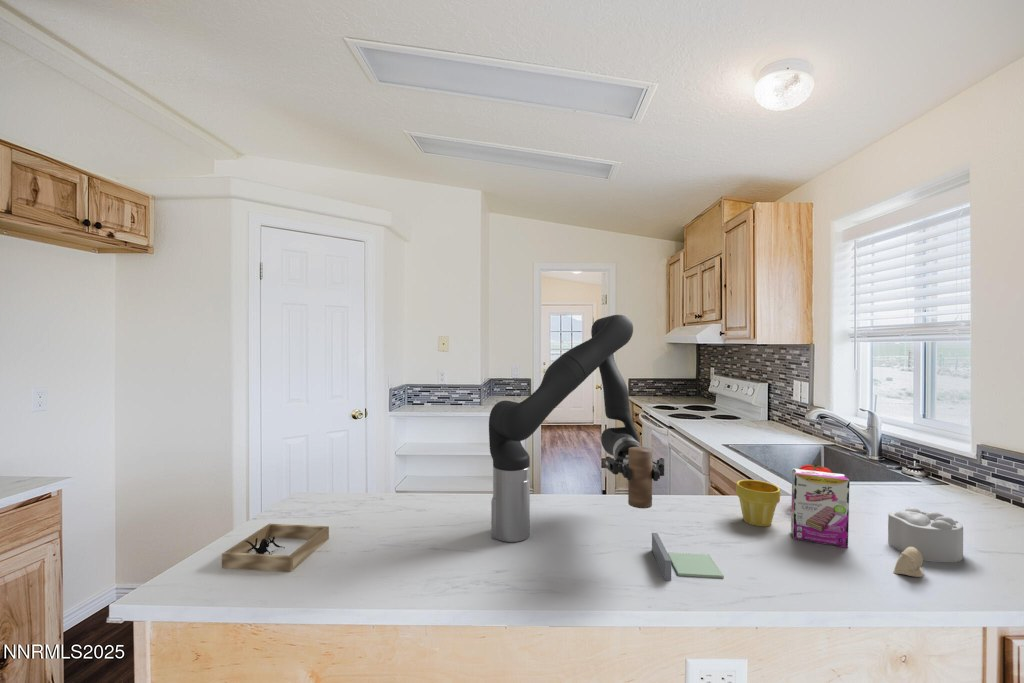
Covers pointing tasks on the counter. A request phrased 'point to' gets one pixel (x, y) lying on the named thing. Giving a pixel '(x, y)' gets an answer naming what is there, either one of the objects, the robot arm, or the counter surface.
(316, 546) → the wooden frame
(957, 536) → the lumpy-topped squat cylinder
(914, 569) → the decorative ornament
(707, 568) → the pad
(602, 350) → the robot arm
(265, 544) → the creature
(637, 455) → the walnut canister
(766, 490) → the plant pot
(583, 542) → the counter surface
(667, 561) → the low wall
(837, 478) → the candy bar box
